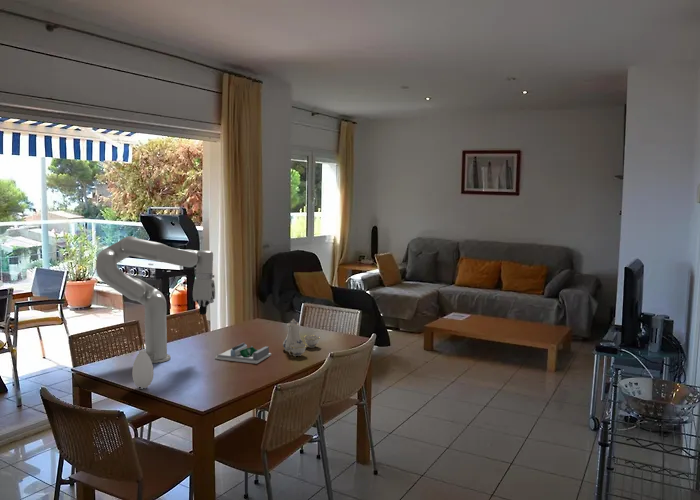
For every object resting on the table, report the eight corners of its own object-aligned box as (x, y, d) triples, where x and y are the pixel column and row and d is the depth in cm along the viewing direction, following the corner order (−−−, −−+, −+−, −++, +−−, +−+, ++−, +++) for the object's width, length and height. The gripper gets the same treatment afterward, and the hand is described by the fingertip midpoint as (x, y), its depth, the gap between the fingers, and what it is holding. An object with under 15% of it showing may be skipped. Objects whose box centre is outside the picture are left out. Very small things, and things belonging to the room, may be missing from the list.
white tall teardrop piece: (129, 388, 224) (128, 344, 222) (147, 383, 230) (146, 340, 228) (138, 393, 219) (137, 347, 217) (157, 388, 224) (156, 344, 223)
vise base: (256, 363, 259) (256, 354, 259) (215, 358, 266) (215, 349, 265) (271, 355, 273) (271, 346, 273) (231, 350, 280) (231, 342, 280)
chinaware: (305, 362, 267) (308, 329, 265) (272, 356, 271) (275, 323, 269) (321, 347, 294) (324, 317, 292) (291, 342, 298) (294, 311, 296)
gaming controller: (257, 358, 271) (251, 348, 273) (261, 353, 269) (255, 343, 271) (243, 362, 263) (237, 352, 266) (246, 357, 261) (240, 347, 264)
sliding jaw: (235, 357, 264) (235, 348, 264) (230, 356, 265) (230, 347, 264) (247, 350, 276) (247, 342, 275) (243, 350, 276) (243, 341, 276)
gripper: (222, 277, 270) (220, 314, 271) (195, 274, 274) (194, 311, 276) (213, 278, 263) (212, 317, 264) (186, 275, 267) (185, 313, 269)
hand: (202, 314), depth 270 cm, fingers closed
